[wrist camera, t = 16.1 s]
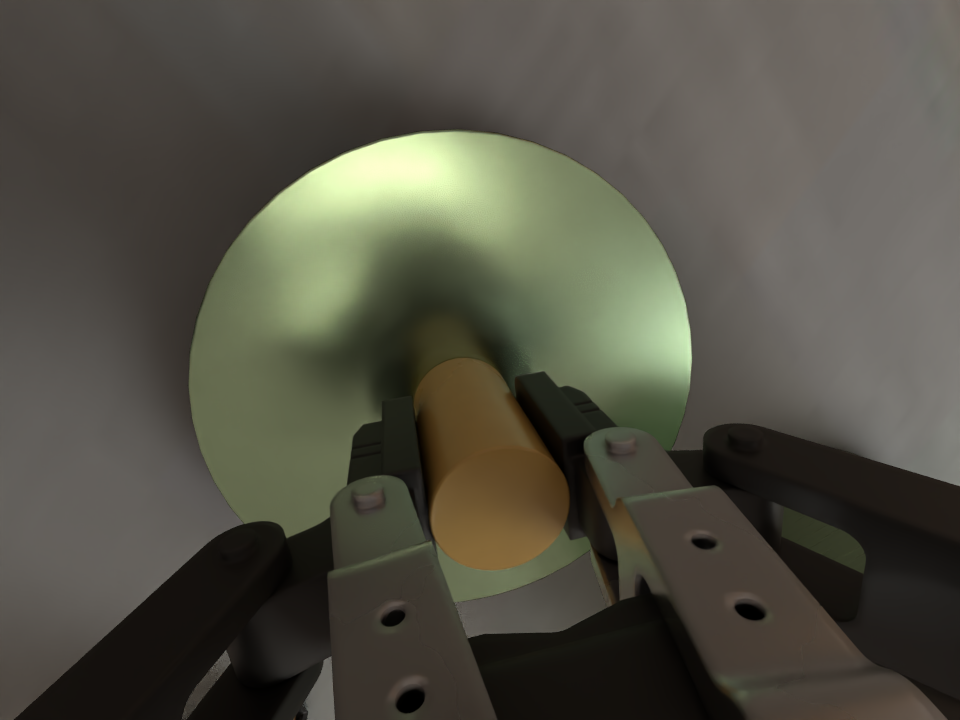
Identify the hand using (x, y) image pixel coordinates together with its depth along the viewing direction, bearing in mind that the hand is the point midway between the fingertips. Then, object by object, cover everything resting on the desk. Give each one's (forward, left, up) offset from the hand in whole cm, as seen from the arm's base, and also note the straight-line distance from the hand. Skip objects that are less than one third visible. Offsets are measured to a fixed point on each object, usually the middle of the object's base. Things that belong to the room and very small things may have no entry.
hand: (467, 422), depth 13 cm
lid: (0, 0, -2) cm, 2 cm away
